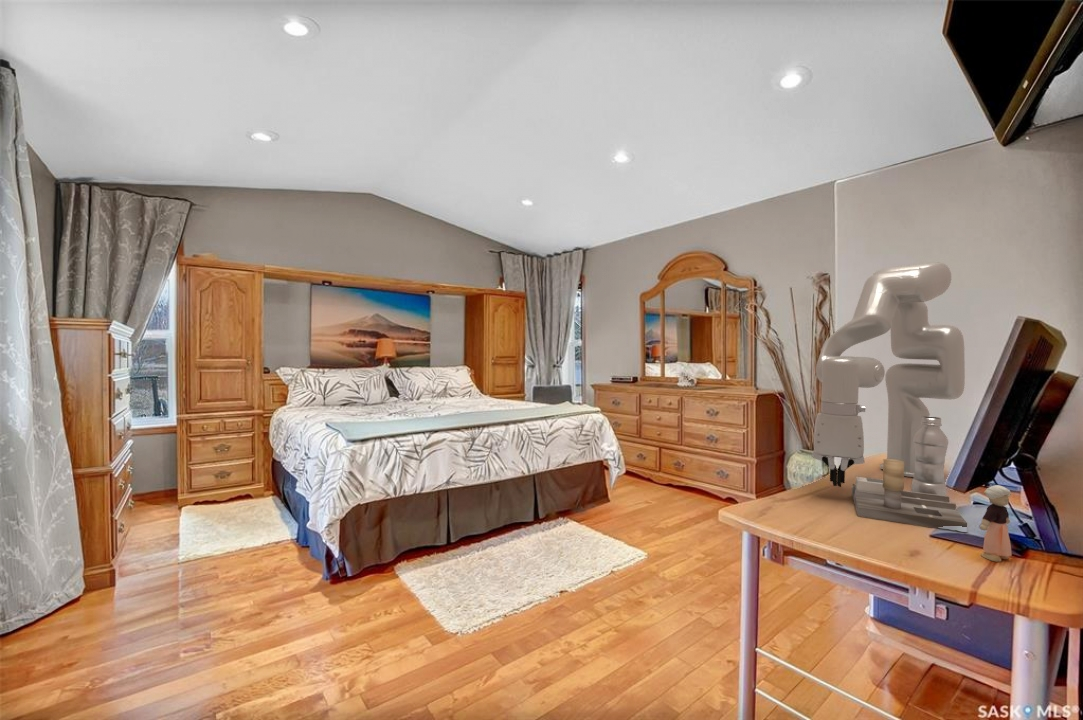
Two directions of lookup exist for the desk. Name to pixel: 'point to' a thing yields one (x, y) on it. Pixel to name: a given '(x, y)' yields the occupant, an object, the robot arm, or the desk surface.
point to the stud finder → (869, 485)
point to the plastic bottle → (930, 457)
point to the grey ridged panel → (909, 509)
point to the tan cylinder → (893, 482)
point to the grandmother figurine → (996, 525)
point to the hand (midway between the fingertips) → (836, 485)
